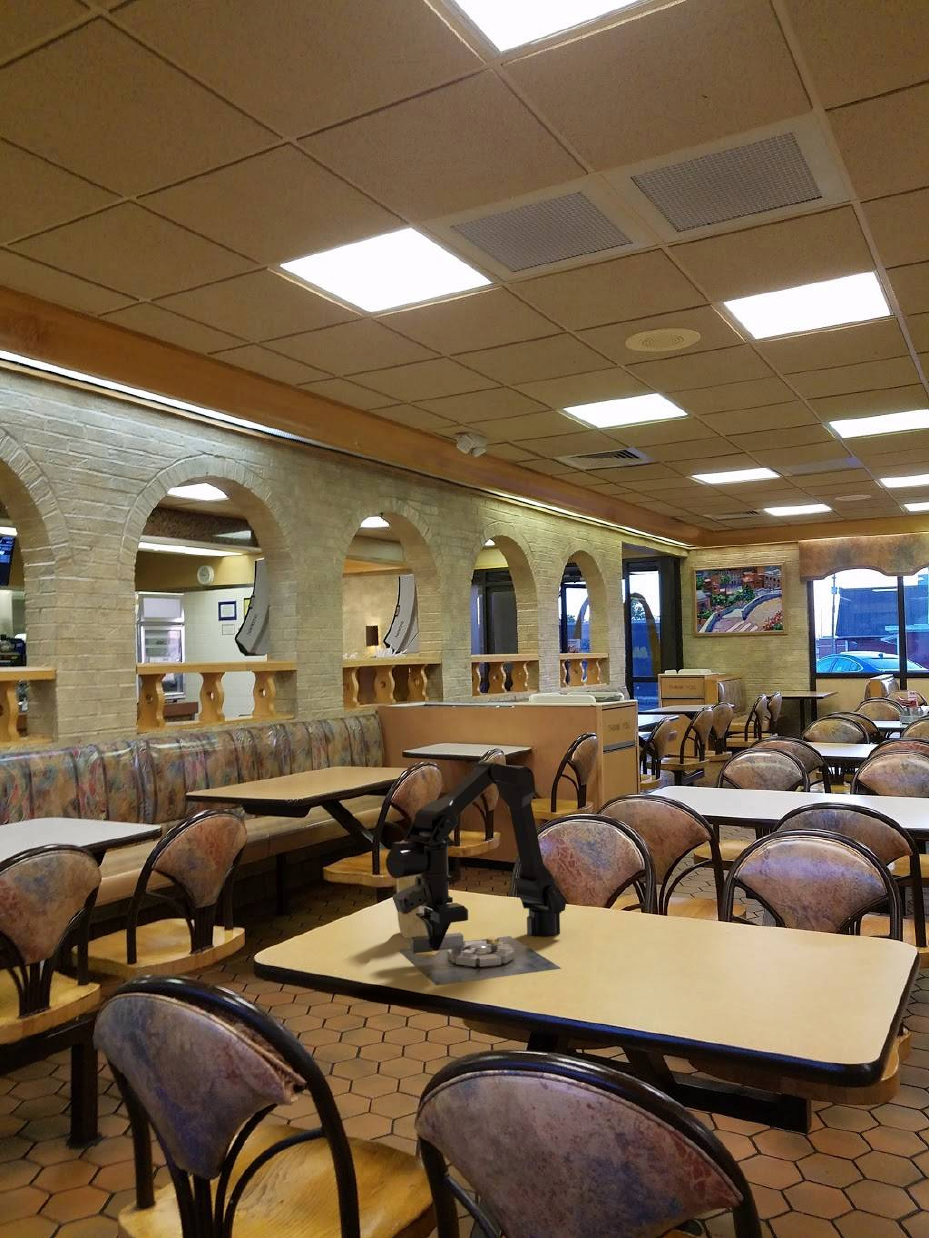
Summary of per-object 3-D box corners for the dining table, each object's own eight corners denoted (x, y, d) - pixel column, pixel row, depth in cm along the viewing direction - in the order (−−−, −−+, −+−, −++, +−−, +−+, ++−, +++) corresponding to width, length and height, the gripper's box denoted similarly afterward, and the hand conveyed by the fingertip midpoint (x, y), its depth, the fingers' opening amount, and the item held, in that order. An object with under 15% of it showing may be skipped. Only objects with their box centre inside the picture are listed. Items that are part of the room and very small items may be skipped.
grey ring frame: (501, 944, 208) (500, 921, 209) (522, 962, 196) (521, 937, 196) (404, 954, 202) (404, 930, 203) (419, 972, 190) (419, 947, 190)
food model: (441, 938, 219) (439, 848, 220) (422, 945, 214) (421, 853, 215) (407, 932, 225) (406, 844, 226) (388, 939, 219) (387, 849, 220)
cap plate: (510, 940, 216) (509, 924, 217) (561, 973, 192) (561, 955, 192) (397, 954, 207) (397, 938, 208) (436, 990, 183) (436, 972, 183)
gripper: (379, 868, 201) (380, 945, 200) (415, 882, 184) (417, 967, 183) (428, 863, 206) (430, 938, 205) (468, 876, 189) (470, 959, 188)
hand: (435, 950), depth 195 cm, fingers closed
